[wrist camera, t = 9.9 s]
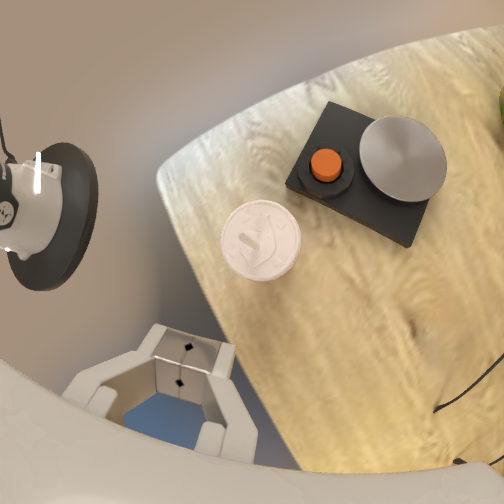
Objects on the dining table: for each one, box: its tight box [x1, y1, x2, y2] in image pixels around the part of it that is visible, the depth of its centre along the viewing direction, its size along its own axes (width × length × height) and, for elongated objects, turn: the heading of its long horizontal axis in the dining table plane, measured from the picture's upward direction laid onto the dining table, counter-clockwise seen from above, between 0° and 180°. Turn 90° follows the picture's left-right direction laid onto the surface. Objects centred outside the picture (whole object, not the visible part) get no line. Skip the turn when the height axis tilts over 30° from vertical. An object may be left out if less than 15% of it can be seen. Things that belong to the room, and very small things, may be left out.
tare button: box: [311, 149, 341, 182], centre depth 29 cm, size 3×3×2 cm
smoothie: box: [220, 200, 302, 282], centre depth 25 cm, size 6×6×14 cm
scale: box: [285, 101, 429, 248], centre depth 30 cm, size 15×12×3 cm
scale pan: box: [359, 116, 447, 203], centre depth 27 cm, size 10×10×1 cm
